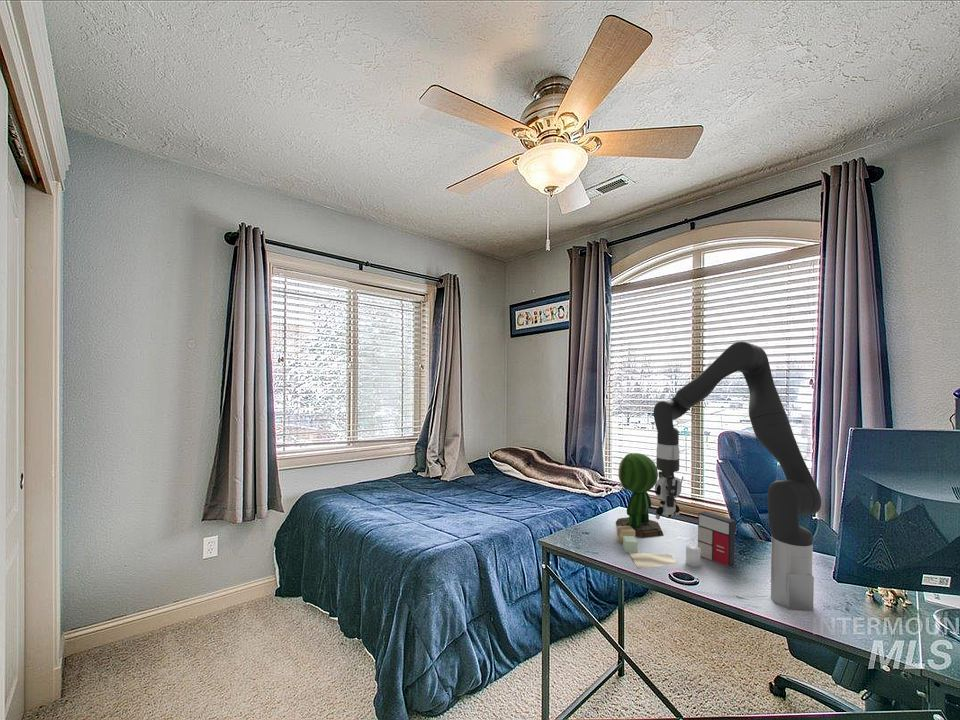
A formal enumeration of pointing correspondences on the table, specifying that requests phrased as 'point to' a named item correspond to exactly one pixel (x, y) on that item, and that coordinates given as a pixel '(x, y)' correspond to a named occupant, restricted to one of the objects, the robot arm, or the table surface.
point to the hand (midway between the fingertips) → (667, 504)
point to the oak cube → (624, 532)
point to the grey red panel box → (716, 537)
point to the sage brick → (630, 544)
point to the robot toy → (662, 494)
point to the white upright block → (693, 555)
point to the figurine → (639, 494)
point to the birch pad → (651, 560)
